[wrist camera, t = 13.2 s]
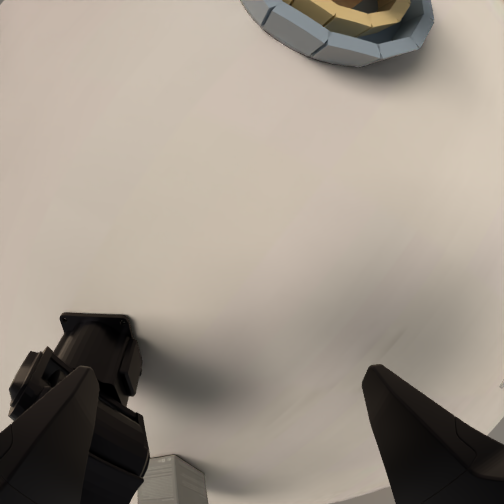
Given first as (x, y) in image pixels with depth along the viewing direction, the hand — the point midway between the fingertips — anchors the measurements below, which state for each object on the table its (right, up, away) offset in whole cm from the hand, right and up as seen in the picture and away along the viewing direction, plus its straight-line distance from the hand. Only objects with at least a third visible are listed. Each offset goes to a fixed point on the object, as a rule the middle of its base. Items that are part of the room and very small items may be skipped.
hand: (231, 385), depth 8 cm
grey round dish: (+6, +23, +6) cm, 25 cm away
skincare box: (-10, -26, +23) cm, 36 cm away
